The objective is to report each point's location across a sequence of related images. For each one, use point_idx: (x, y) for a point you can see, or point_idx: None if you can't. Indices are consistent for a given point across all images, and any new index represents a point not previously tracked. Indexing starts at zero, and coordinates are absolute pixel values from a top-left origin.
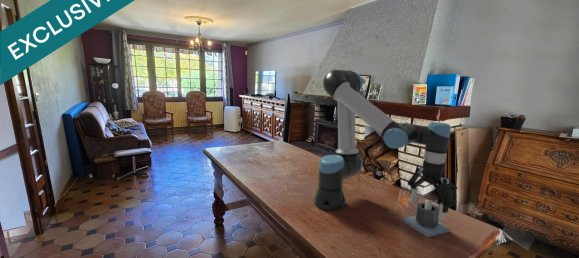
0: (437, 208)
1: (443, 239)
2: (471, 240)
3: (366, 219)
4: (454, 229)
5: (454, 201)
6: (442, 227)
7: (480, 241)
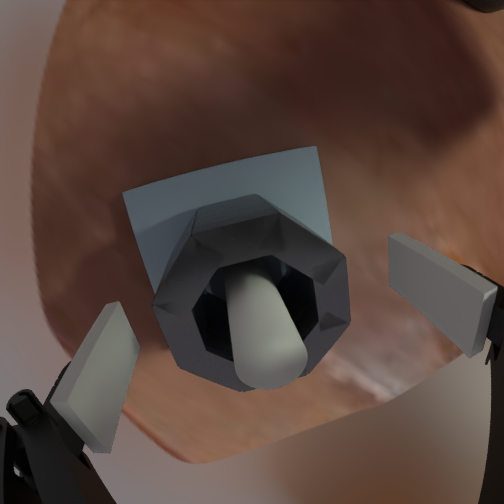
0: (232, 379)
1: (117, 271)
2: None
3: None
4: None
5: (26, 484)
6: None
7: None
